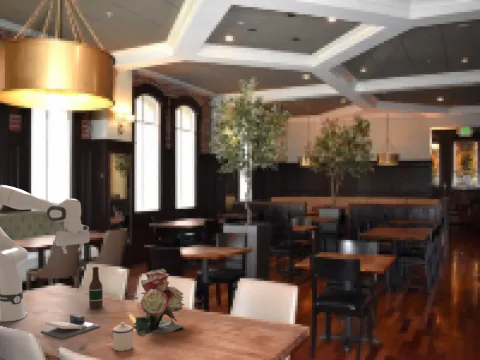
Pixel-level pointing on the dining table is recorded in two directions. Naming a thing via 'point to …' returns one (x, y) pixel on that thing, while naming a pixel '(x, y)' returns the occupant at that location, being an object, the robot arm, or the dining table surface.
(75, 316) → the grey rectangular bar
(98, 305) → the beer bottle
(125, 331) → the teacup with lid
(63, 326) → the tile
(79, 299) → the dining table surface
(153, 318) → the rose bouquet
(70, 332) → the board
